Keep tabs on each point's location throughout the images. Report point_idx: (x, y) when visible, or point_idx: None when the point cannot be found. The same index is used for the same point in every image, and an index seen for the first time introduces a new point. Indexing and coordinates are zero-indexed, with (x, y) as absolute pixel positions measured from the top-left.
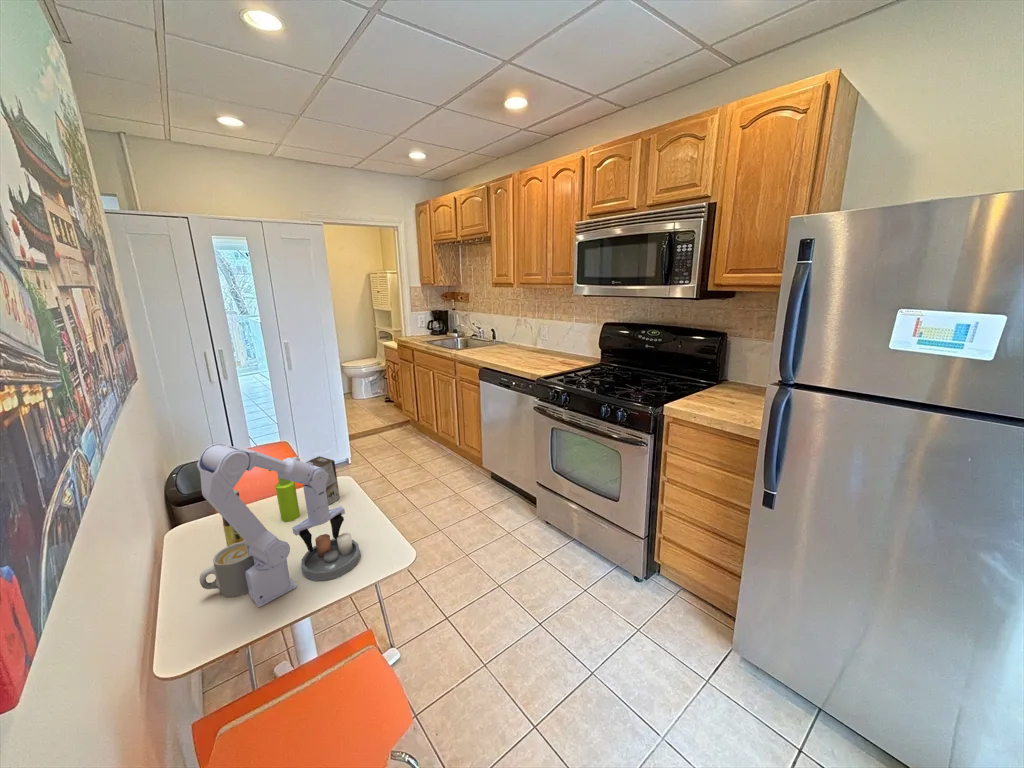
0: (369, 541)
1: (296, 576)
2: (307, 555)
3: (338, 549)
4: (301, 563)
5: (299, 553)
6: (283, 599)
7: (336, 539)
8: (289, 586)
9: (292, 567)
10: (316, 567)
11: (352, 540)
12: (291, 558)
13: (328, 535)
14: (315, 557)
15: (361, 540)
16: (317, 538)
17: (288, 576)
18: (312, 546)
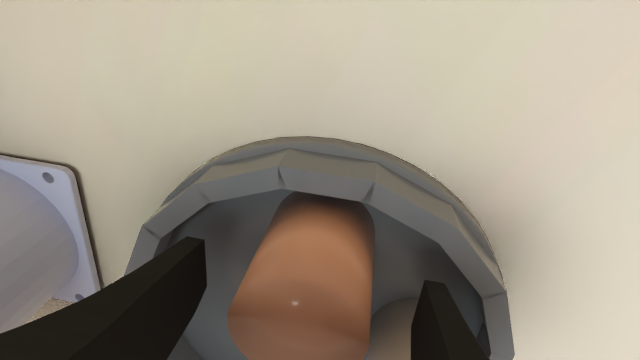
0: (597, 345)
1: (122, 231)
2: (195, 210)
3: (372, 341)
4: (131, 257)
5: (211, 19)
6: (43, 306)
7: (412, 332)
8: (67, 285)
9: (123, 138)
10: (214, 299)
11: (505, 355)
12: (142, 27)
13: (358, 349)
14: (253, 220)
15: (587, 297)
16: (258, 302)
17: (28, 318)
18: (179, 338)
